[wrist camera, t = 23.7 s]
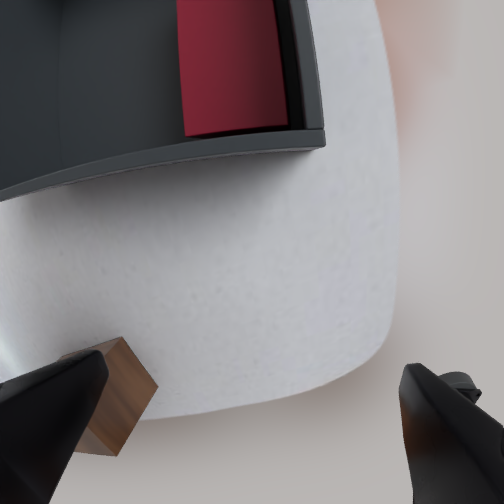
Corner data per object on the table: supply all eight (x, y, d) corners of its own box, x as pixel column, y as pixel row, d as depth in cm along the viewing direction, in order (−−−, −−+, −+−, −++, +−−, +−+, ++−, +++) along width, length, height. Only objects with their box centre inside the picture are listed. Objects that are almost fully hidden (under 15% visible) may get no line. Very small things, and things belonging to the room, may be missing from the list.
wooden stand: (122, 336, 24) (65, 401, 16) (158, 386, 26) (117, 456, 17) (61, 356, 28) (14, 403, 19) (92, 396, 29) (53, 448, 20)
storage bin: (315, 150, 17) (326, 146, 9) (64, 184, 21) (-18, 207, 13) (279, -77, 12) (264, -148, 4) (66, -9, 15) (3, -35, 7)
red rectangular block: (291, 131, 17) (288, 125, 13) (208, 139, 18) (184, 137, 14) (273, -10, 14) (266, -42, 10) (197, 3, 15) (175, -24, 11)
